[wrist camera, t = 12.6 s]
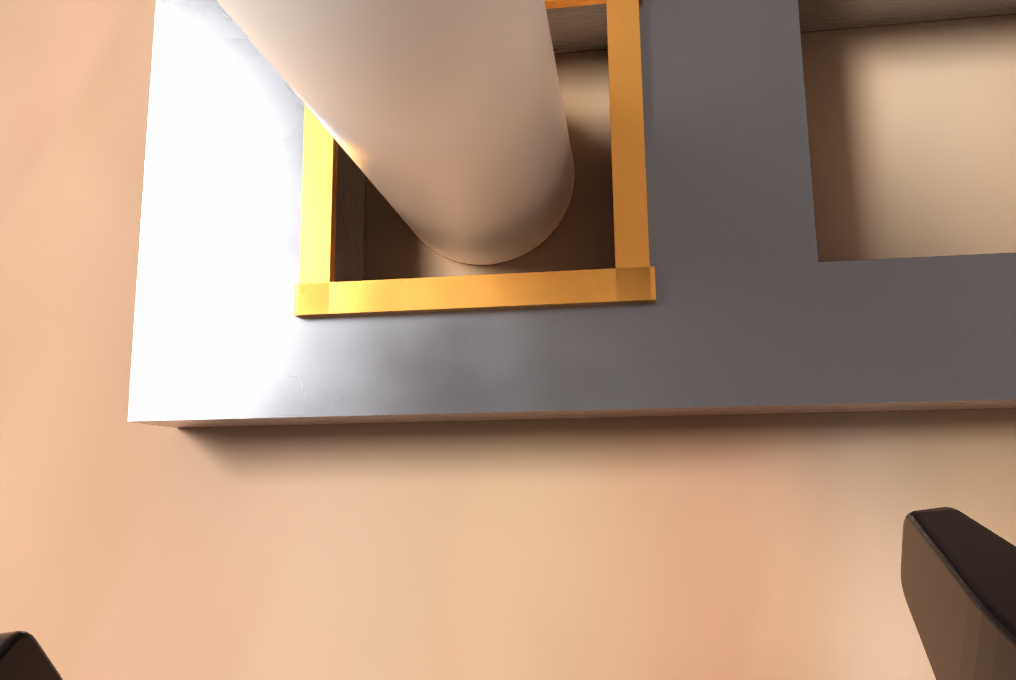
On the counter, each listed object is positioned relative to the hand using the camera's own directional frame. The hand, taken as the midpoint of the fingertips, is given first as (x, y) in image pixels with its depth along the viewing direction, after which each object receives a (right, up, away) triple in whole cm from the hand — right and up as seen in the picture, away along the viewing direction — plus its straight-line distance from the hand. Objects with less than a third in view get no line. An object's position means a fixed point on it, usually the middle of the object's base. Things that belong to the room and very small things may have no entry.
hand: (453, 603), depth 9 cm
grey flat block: (+5, +7, +11) cm, 14 cm away
